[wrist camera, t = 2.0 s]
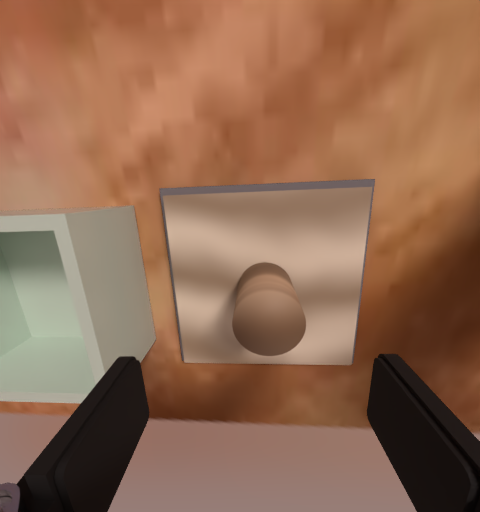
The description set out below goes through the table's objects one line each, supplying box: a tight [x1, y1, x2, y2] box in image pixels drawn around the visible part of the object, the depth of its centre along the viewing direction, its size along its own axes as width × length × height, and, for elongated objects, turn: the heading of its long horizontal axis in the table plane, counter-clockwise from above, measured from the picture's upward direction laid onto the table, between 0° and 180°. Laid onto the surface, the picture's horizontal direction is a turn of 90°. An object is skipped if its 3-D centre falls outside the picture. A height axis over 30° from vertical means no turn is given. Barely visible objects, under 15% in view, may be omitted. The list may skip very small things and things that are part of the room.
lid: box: [163, 187, 372, 365], centre depth 15 cm, size 14×14×6 cm
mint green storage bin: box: [0, 206, 156, 403], centre depth 16 cm, size 12×12×6 cm
